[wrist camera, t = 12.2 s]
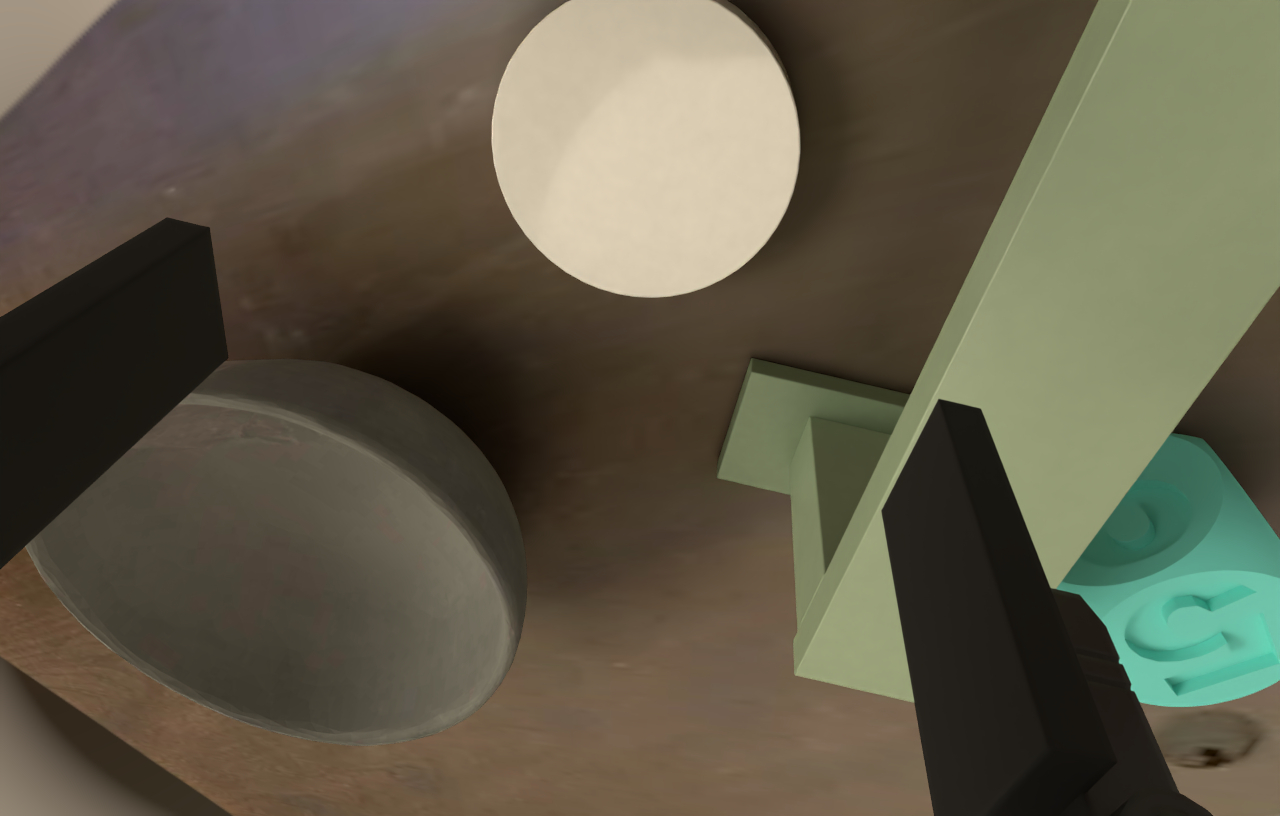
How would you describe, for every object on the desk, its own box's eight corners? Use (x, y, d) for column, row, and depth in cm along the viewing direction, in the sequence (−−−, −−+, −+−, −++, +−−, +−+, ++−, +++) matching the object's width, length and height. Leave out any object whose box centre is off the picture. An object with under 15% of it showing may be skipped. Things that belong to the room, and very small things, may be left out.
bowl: (364, 636, 48) (284, 793, 40) (92, 389, 40) (-83, 524, 31) (639, 532, 41) (609, 700, 32) (374, 196, 32) (240, 309, 24)
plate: (518, -57, 26) (503, -53, 25) (840, 16, 26) (845, 24, 25) (493, 245, 32) (481, 263, 31) (753, 304, 33) (752, 325, 31)
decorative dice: (1073, 587, 39) (1137, 733, 32) (991, 486, 36) (1042, 623, 30) (1249, 517, 35) (1361, 664, 29) (1173, 398, 33) (1278, 531, 26)
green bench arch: (969, -322, 21) (1149, -486, 11) (1398, -219, 21) (1942, -296, 12) (717, 462, 37) (702, 673, 28) (962, 519, 37) (1035, 750, 28)
